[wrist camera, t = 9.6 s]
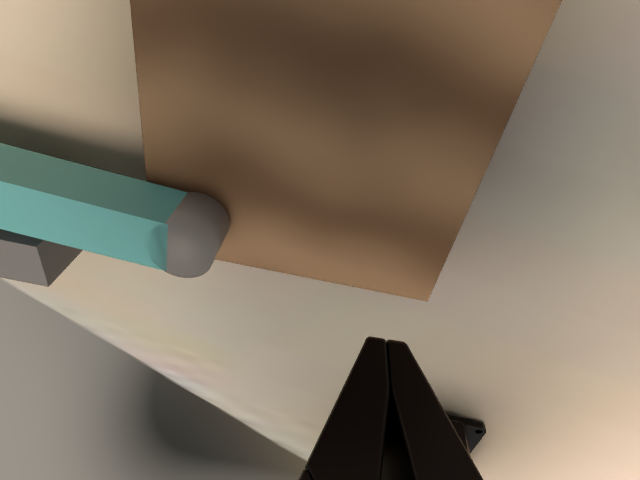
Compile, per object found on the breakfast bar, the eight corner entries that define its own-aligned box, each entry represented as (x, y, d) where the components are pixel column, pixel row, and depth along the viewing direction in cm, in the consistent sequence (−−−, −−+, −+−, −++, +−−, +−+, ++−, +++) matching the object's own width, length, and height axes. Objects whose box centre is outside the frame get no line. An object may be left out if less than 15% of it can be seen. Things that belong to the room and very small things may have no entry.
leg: (232, 201, 19) (215, 233, 17) (226, 249, 20) (209, 284, 18) (-137, 103, 18) (-204, 124, 16) (-113, 162, 19) (-169, 188, 17)
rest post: (99, 232, 23) (48, 286, 20) (-8, 211, 23) (-78, 261, 20) (92, 195, 22) (36, 246, 18) (-22, 173, 22) (-100, 220, 18)
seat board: (423, 275, 23) (427, 301, 21) (168, 224, 23) (152, 246, 21) (662, -296, 11) (711, -336, 9) (130, -409, 11) (86, -470, 9)
